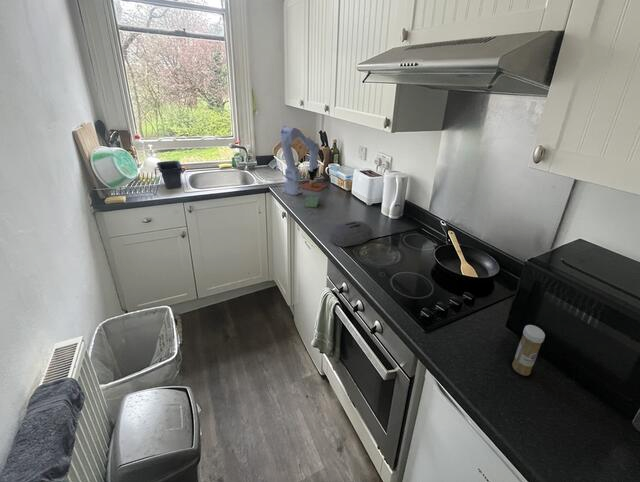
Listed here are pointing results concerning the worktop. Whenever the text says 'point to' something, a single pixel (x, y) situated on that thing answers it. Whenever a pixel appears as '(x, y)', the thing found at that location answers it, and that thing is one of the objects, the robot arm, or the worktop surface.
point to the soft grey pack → (351, 233)
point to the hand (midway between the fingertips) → (313, 178)
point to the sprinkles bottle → (528, 349)
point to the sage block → (311, 201)
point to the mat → (318, 188)
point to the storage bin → (170, 173)
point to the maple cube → (313, 183)
